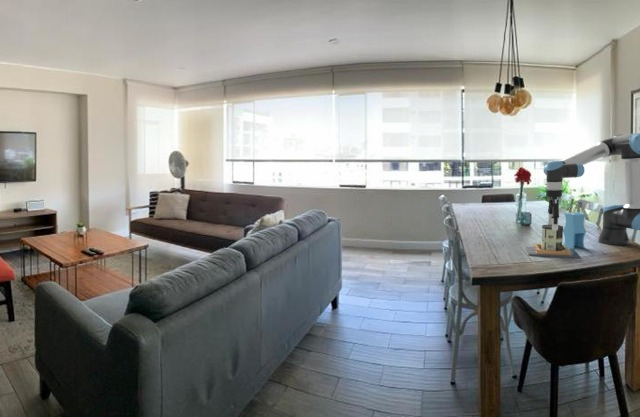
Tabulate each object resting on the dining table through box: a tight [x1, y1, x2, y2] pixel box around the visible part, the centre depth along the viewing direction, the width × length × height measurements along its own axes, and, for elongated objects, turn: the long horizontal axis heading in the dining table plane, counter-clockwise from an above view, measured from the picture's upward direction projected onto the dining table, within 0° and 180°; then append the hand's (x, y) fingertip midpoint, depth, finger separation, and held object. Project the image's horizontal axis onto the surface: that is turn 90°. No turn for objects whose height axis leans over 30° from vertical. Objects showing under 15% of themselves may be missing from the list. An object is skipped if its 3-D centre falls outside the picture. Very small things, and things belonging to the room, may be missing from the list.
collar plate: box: [525, 243, 581, 259], centre depth 221 cm, size 24×17×3 cm
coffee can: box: [541, 224, 564, 251], centre depth 220 cm, size 10×10×14 cm
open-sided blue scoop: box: [563, 211, 587, 250], centre depth 232 cm, size 8×8×20 cm
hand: (552, 227), depth 219 cm, fingers open, 13 cm apart
